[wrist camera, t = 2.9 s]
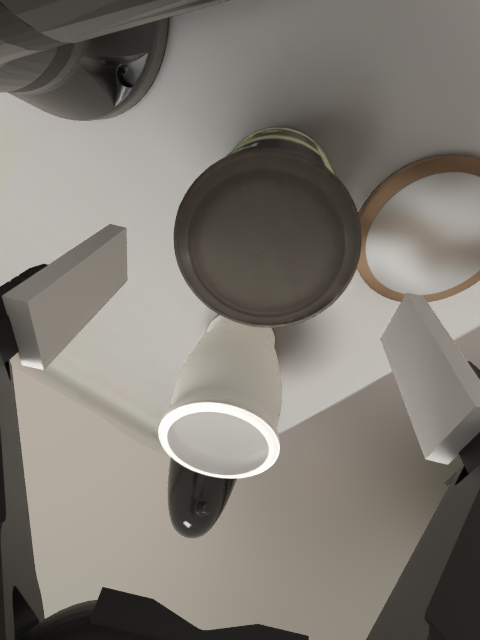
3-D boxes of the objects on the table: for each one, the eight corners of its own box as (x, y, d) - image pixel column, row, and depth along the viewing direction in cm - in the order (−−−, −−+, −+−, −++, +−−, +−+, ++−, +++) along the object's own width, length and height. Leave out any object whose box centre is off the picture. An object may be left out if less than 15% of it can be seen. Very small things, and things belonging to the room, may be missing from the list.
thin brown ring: (369, 152, 26) (373, 155, 25) (541, 157, 25) (556, 160, 24) (339, 290, 34) (341, 298, 32) (471, 300, 32) (479, 308, 31)
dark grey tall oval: (258, 422, 48) (247, 536, 35) (228, 454, 53) (208, 562, 41) (197, 394, 46) (162, 503, 34) (172, 431, 52) (134, 535, 39)
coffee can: (197, 197, 30) (139, 256, 19) (273, 95, 25) (257, 91, 14) (276, 266, 33) (268, 355, 22) (358, 188, 28) (405, 250, 16)
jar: (236, 283, 35) (206, 383, 23) (302, 338, 38) (307, 452, 26) (182, 337, 40) (134, 440, 28) (243, 381, 43) (224, 492, 31)
